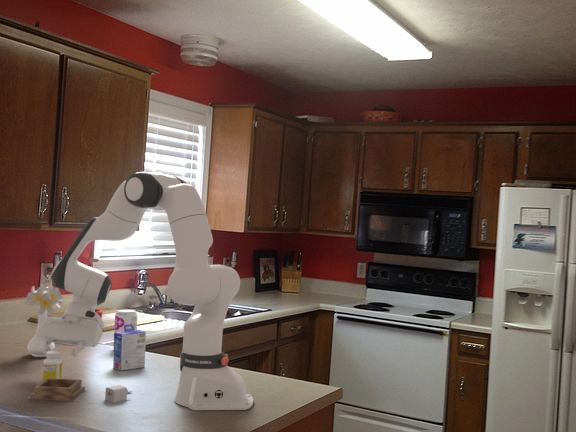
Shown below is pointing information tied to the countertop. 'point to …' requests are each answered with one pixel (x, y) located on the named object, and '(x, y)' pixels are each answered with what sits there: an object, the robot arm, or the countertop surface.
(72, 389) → the wooden tray
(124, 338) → the ink cartridge box
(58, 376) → the supplement bottle
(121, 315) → the supplement can
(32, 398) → the mat
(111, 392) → the usb wall charger
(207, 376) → the robot arm
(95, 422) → the countertop surface
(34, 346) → the flower vase
